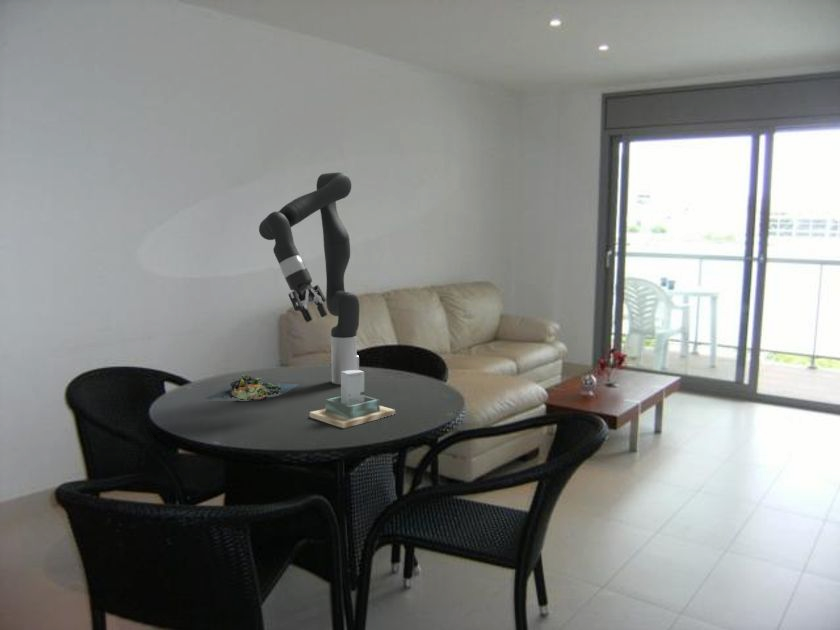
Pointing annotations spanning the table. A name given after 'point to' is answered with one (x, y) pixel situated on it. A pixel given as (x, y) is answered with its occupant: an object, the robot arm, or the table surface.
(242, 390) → the plated dish
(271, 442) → the table surface
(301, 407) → the table surface
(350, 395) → the skincare box
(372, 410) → the socket board
